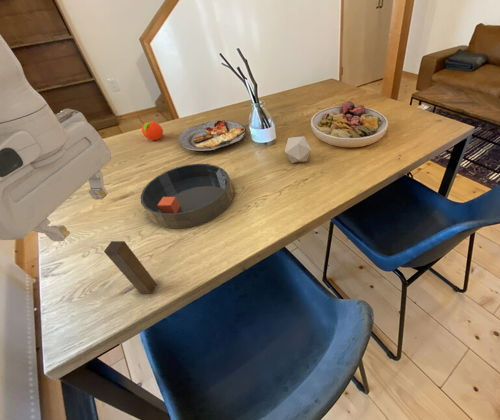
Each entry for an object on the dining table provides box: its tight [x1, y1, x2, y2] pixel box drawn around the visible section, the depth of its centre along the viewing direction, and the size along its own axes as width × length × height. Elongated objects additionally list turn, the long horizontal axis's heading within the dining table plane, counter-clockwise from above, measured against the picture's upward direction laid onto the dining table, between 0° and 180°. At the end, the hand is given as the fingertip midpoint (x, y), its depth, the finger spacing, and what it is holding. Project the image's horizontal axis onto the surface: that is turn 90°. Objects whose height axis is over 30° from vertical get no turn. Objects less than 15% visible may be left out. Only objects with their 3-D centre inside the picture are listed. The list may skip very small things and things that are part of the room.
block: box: [157, 197, 180, 213], centre depth 75 cm, size 4×4×4 cm
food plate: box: [177, 119, 247, 151], centre depth 106 cm, size 25×23×4 cm
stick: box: [103, 240, 157, 295], centre depth 54 cm, size 2×2×14 cm
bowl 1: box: [139, 163, 234, 230], centre depth 79 cm, size 23×23×5 cm
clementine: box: [141, 120, 164, 141], centre depth 105 cm, size 8×7×7 cm
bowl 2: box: [310, 100, 389, 148], centre depth 108 cm, size 30×30×8 cm
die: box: [284, 135, 312, 164], centre depth 93 cm, size 8×9×10 cm
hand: (83, 215), depth 44 cm, fingers open, 8 cm apart
